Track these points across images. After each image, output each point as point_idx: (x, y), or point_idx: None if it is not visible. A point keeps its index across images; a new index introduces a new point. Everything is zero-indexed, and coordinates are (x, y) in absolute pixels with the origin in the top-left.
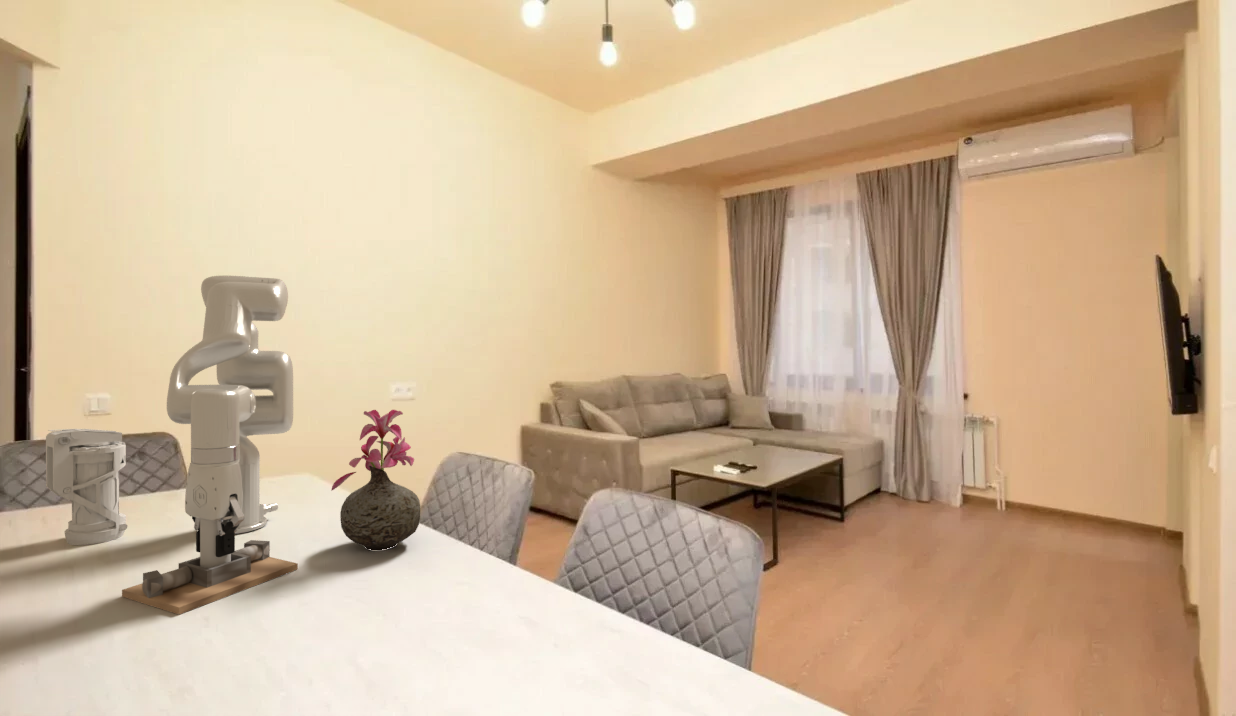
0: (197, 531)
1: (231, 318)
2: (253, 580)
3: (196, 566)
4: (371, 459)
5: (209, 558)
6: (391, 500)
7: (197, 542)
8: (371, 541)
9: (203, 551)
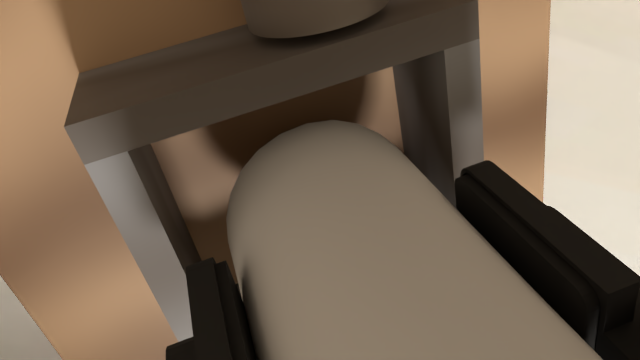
0: (619, 291)
1: None
2: (33, 312)
3: (273, 88)
4: None
5: (262, 204)
6: None
7: (524, 211)
8: None
9: (330, 203)
